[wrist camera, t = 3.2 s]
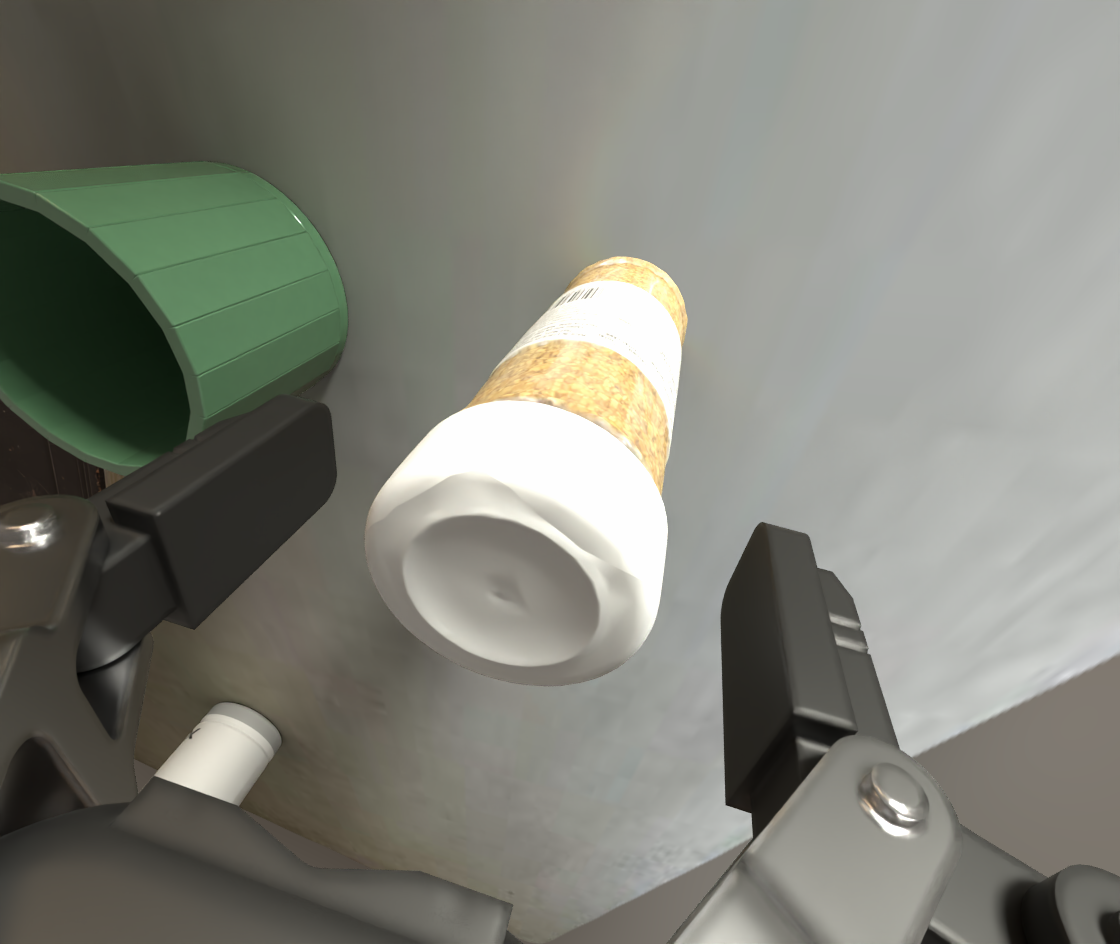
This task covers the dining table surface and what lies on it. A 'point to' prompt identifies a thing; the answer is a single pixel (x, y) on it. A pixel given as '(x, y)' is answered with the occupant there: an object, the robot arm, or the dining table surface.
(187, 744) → the travel mug
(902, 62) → the dining table surface
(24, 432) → the hardcover book
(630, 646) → the sprinkles bottle
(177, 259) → the cup
